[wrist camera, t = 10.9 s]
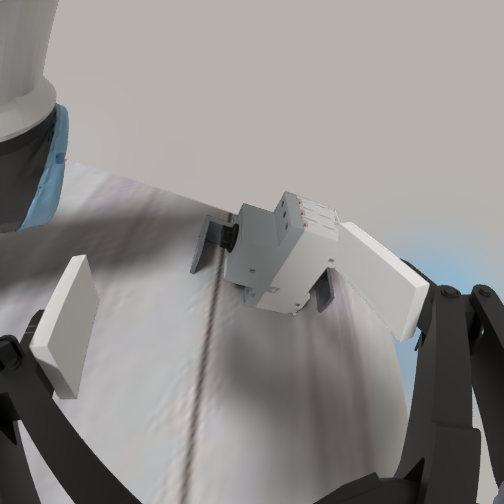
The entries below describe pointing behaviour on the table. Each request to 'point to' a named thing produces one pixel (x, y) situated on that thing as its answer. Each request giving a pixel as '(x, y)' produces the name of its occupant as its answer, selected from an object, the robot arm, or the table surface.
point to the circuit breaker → (280, 251)
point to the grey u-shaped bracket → (213, 234)
